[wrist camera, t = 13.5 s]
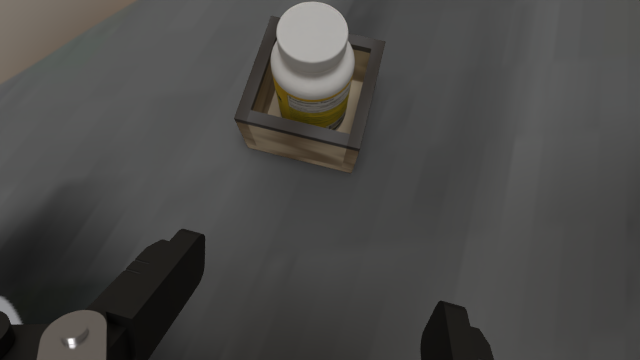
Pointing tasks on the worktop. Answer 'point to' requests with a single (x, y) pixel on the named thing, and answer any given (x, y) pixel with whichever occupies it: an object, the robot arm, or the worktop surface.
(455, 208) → the worktop surface
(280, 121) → the wooden box
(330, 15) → the pill bottle
